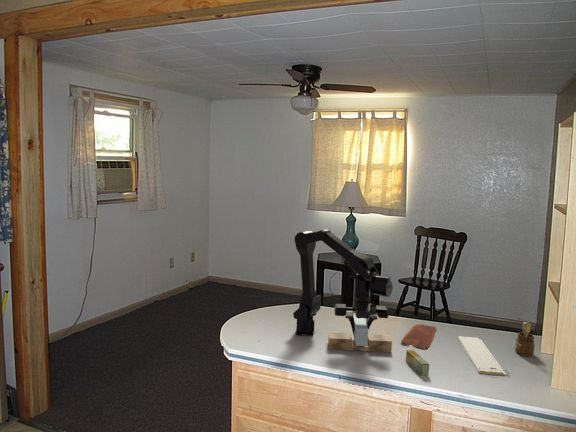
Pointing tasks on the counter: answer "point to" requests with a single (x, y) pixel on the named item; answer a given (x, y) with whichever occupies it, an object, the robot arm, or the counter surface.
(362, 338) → the pale blue block
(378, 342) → the notched beam
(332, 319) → the counter surface
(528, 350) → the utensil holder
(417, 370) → the medication box
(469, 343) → the baseboard
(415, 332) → the wooden tablet
